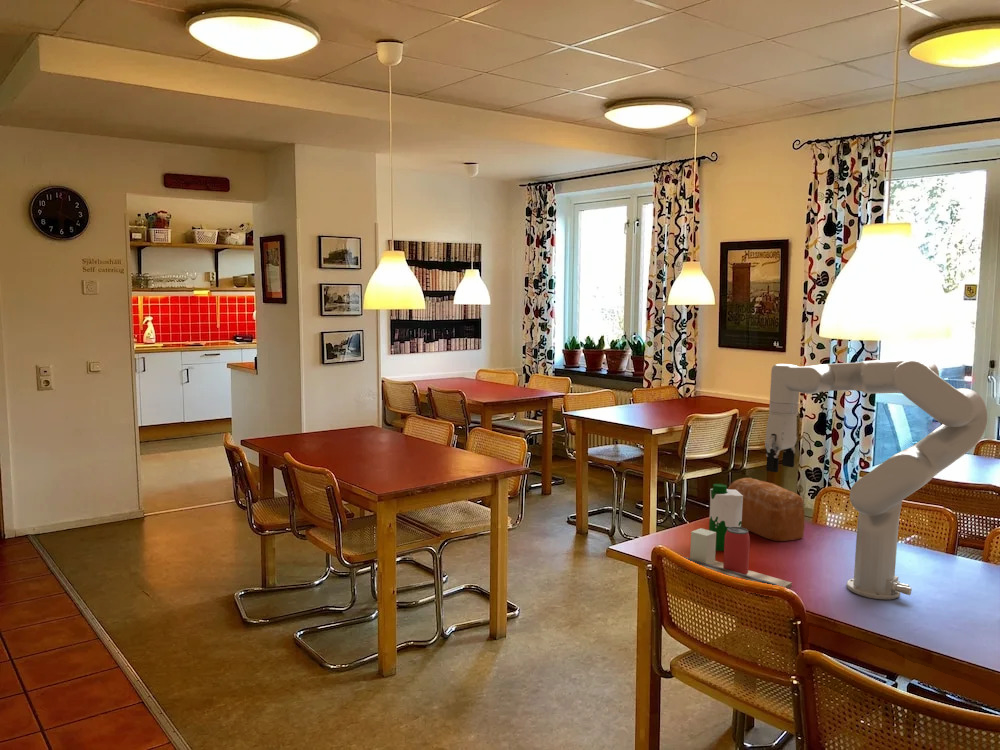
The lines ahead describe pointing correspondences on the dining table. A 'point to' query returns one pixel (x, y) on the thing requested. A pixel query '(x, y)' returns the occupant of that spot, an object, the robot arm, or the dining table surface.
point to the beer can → (736, 550)
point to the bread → (770, 510)
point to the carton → (703, 546)
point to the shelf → (749, 576)
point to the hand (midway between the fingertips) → (780, 468)
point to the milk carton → (724, 512)
